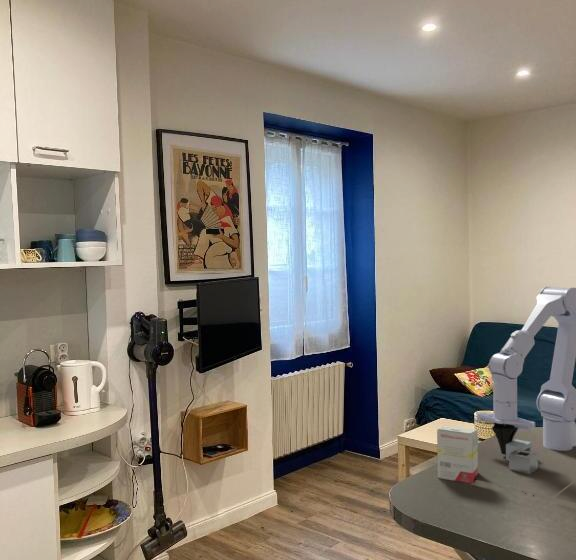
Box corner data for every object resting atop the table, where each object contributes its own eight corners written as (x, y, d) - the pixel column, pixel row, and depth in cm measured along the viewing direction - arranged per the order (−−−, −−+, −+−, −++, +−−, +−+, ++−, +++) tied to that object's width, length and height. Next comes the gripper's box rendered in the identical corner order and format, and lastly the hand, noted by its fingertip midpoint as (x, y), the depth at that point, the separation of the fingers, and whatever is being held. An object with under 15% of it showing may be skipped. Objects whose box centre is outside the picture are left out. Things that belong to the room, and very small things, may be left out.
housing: (516, 454, 157) (516, 439, 157) (531, 457, 155) (531, 442, 154) (505, 460, 153) (505, 444, 153) (521, 463, 150) (521, 447, 150)
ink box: (479, 478, 144) (478, 428, 144) (473, 484, 140) (472, 433, 140) (443, 471, 149) (443, 423, 149) (436, 478, 145) (436, 428, 145)
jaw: (517, 465, 150) (517, 449, 150) (538, 469, 146) (538, 453, 146) (508, 470, 146) (508, 454, 146) (529, 475, 143) (529, 458, 143)
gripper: (471, 399, 158) (471, 451, 158) (526, 408, 148) (527, 463, 148) (483, 394, 163) (484, 445, 163) (538, 402, 153) (538, 456, 153)
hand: (505, 453), depth 156 cm, fingers closed
